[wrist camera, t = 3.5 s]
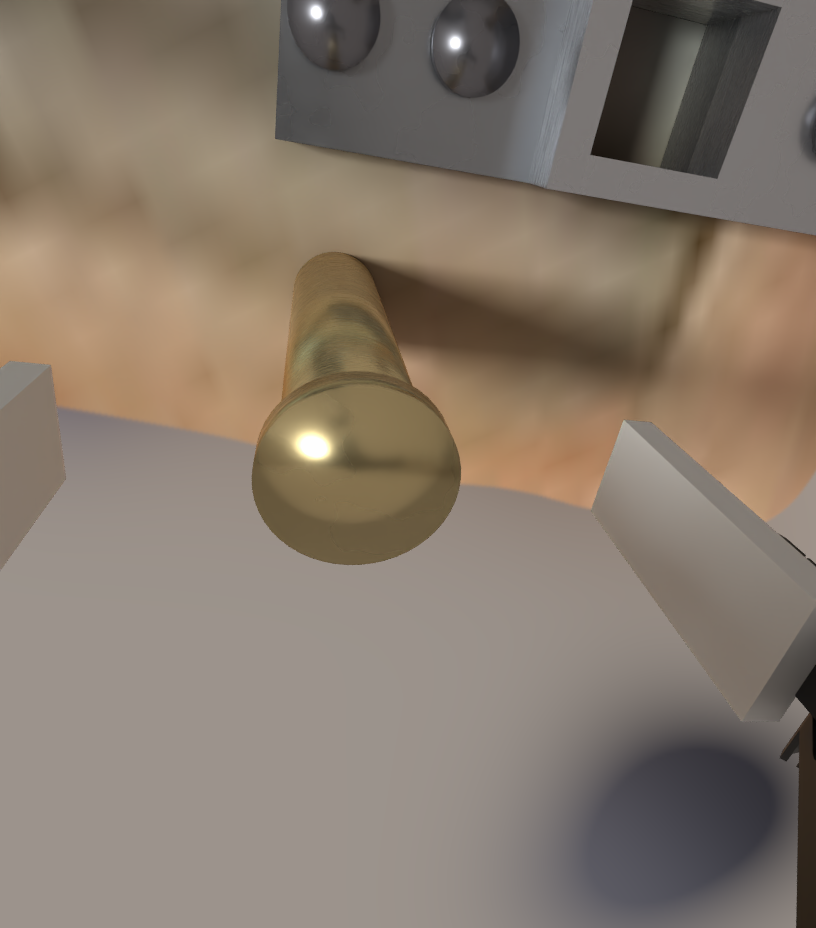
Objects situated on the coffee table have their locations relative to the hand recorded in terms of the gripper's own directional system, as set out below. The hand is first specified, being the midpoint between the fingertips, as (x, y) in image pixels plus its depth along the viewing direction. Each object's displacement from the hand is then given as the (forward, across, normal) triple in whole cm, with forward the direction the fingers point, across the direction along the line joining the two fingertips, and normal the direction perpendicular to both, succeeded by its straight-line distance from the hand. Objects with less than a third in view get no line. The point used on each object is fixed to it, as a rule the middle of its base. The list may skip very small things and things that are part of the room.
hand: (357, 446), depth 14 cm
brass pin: (+13, 0, 0) cm, 13 cm away
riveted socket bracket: (+13, +10, +10) cm, 19 cm away
